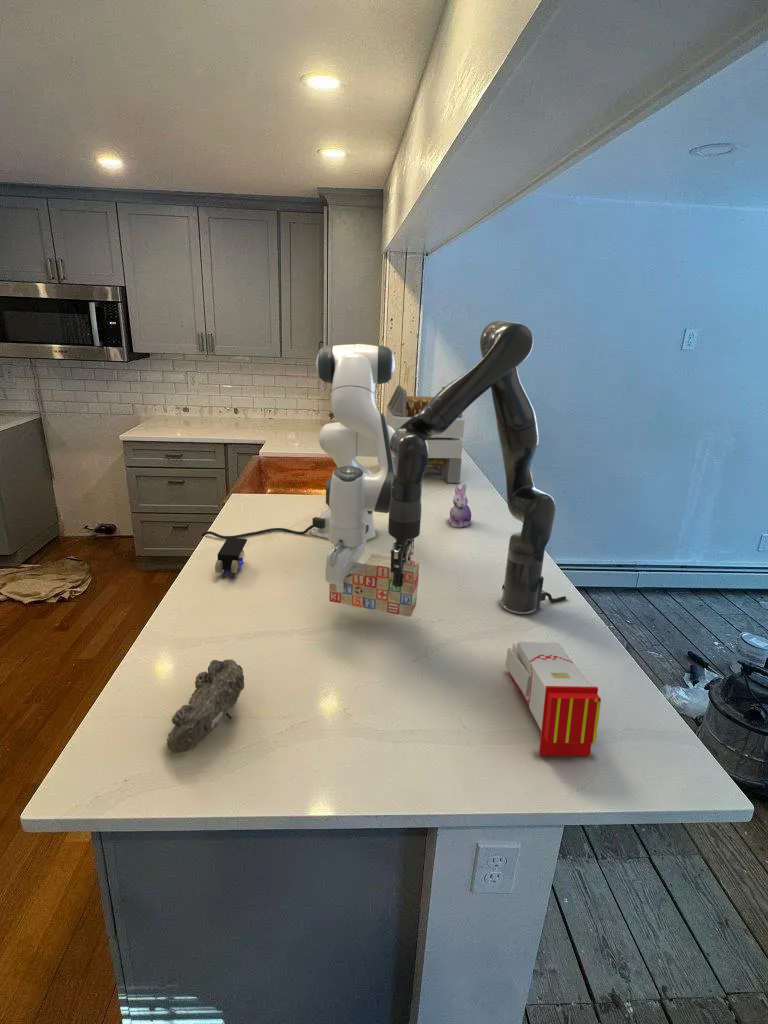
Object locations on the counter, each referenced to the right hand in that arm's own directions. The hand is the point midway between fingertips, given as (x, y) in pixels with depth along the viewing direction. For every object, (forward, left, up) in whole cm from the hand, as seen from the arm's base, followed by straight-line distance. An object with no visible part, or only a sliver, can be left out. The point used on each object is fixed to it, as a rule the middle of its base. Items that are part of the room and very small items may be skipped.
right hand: (401, 579), depth 138 cm
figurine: (-48, -61, -13) cm, 79 cm away
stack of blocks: (+6, -4, -8) cm, 11 cm away
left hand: (+12, -8, -4) cm, 15 cm away
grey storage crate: (-61, -128, -13) cm, 142 cm away
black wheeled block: (+36, -43, -13) cm, 57 cm away
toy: (-17, +37, -13) cm, 43 cm away
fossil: (+47, +21, -13) cm, 53 cm away
